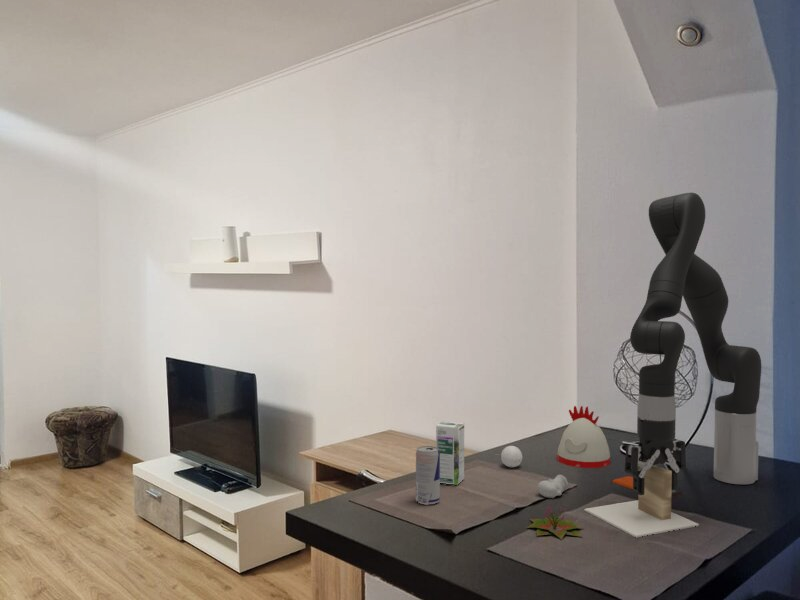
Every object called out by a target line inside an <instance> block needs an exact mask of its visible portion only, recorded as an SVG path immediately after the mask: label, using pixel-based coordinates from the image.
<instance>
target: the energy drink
mask: <svg viewBox="0 0 800 600" xmlns="http://www.w3.org/2000/svg"><path fill="white" fill-rule="evenodd" d="M440 487H441V484H440V452H439V448H437V447H436V446H433V445H431V446H430V445H423V446H419V447H417V448H416V450H415V502H417V501H418V502H421V503H428V504H430V503H437V502H438V503H439V502H440V499H441V498H440V497H441V494H440V493H441V488H440ZM438 503H437V504H438Z"/></svg>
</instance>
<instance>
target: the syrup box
mask: <svg viewBox="0 0 800 600" xmlns="http://www.w3.org/2000/svg"><path fill="white" fill-rule="evenodd" d="M435 428H436V429H435V435H436V436H435V441H436V442H435V447H437V448H439V452H440V483H446V484H454V485H458V484H459V483H460V482H461V481H462V480H463V479H464V480H465V422H454V421H443V420H442V421H440V422H439V423H438V424H436V427H435ZM464 480H463V481H464ZM463 481H462V482H463ZM462 482H461V483H462ZM461 483H460V484H461ZM446 484H445V485H446ZM460 484H459V485H460ZM454 485H453V486H454ZM459 485H458V486H459Z"/></svg>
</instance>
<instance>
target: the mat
mask: <svg viewBox="0 0 800 600" xmlns="http://www.w3.org/2000/svg"><path fill="white" fill-rule="evenodd" d="M583 510H584V512H586V513H588V514H590V515H592V516H593V517H595V518H598V519H599V520H601V521H602V522H603V521H604V522H605V523H607V524H609V525H610V526H613V527H615V528H617V529H619V530H620V531H622V532H624V533H626V534H628V535H630V536H632V537H633V538H635V537H636V539H637V538H642V536H643V537H647V535H648V536H652V534H654V535H657V534H664V533H669V532H668V531H670V532H674V531H673V530H675V531H680V530H685V529H690V528H695V526H696V527H699V526H700V524H699V523H698V522H695V521H693V520H691V519H688V518H686V517H684V516H681V515H679V514H677V513H675V512H673V511H671V519H666V520H660V519H658V518H656V517H654V516H652V515H650V514H648V513H645V512H643V511H641V510H639V509H638V500H636V499H635V500H632V501H631V500H629V501H626V502H624V501H623V502H619V503H617V502H616V503H612V504H607V505H606V504H605V505H600V506H594V507H593V506H592V507H588V508H584V509H583ZM679 529H680V530H679Z"/></svg>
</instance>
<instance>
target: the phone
mask: <svg viewBox="0 0 800 600" xmlns="http://www.w3.org/2000/svg"><path fill="white" fill-rule="evenodd" d="M611 483H612V484H615V485H618V486H621V487H624V488H626V489H630V490H633V476H630V475H628V476H627V475H626V476H623V477H619V478H615V479H613V480H612V482H611ZM681 495H682V492H681V491H679V490H671V499H672V498H675V497H679V496H681Z"/></svg>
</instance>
